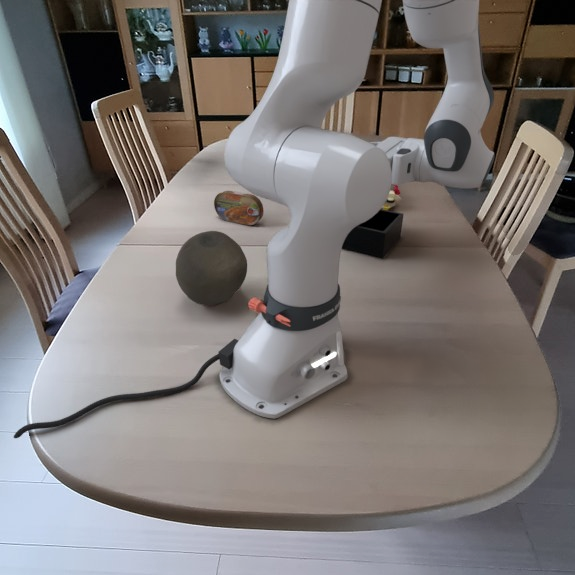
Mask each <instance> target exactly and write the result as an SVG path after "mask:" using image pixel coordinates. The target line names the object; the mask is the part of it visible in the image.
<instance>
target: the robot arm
mask: <svg viewBox="0 0 575 575" xmlns="http://www.w3.org/2000/svg"><path fill="white" fill-rule="evenodd" d="M382 2H383V0H288V5H287V11H286V17H285V23H284V27H283V33H282V37H281V42H280V47H279V53H278V57H277V61H276V64H275V67H274V70H273V72H272V76H271V78H270V81H269V83H268V86H267V87H266V89H265V91H264V92H263V93H264V94H263V95H262V97H261V99H260V100H259V102H258V104H257V105H256V107H255V109H254V110H253V111H252V113H251V114H250V115H248V117H247V118H246V119H244V120H243V121H242V122H240V123H239V124H238V125H237V126H235V127H234V129H232V131H231V132H230V134H229V136H228V138H227V140H226V143H225V148H224V157H223V158H224V165H225V169H226V171H227V174H228V176H229V177H230V178H231V180H233V182H235V183H237V185H239V186H240V187H242V188H243V189H245V190H246V191H248V192H249V193H250V194H252V195H254V196H256V197H258V198H262V199H265V200H268V201H271V202H274V203H277V204H279V205H283V206H285V207H287V209H288V210H289V213H290V223H289V225H288V226H285V227H283V228H281V229H280V230H278V231H277V232H276V233H275V234H274V235H273V236H272V237H271V239H270V240H269V242H268V243H267V246H266V251H265V252H266V253H265V254H266V268H267V269H266V270H267V285H266V288H265V291H264V295H263V299H262V300H261V299H259V298H258V297H256V296H254V297H252V298H251V299H249V301H248V308H249V309H250V310H252V311H254V312H255V313H257V316H256V317H255V319H254V320H253V321H252V322H251V323H250V325H249V327H248V328H247V329H246V331H245V332H244V333H243V334H242V336H241V337H240V338H239V339H237V338H233V339H232V340H231V341H230V342H229V343H227V344H226V345H225V346H223V347H222V348H221V349H220V350H218V352H217V354H215V355H214V356H212V357H210V358H209V359H208V360H206V361H205V362H204V363H203V364H202V366H200V368H199V370H198V371H197V373H196V375H195V376H194V377H193V378H192V379H191V380H189V381H188V382H186V383H184V384H181V385H179V386H176V387H170V388H165V389H163V388H162V389H156V390H151V391H145V392H136V393H124V394H116V395H111V396H107V397H104V398H102V399H99V400H96V401H94V402H92V403H90V404H89V405H87V406H85V407H83V408H81V409H79V410H78V411H76V412H75V413H72V414H70V415H68V416H66V417H63V418H62V419H57V420H53V421H44V422H32V423H28V424H26V425H24V426H22V427H21V428H19V429H18V430H17V431H16V432H15V433H14V434H13V439H19V438H20V437H22V436H23V435H24V434H25V433H27V432H29V431H33V430H41V429H42V430H43V429H53V428H57V427H61V426H64V425H66V424H67V425H68V424H69V423H71V422H74V421H75V420H77V419H79V418H81V417H82V416H84V415H87V413H89V412H91V411H93V410H94V409H96V408H99V407H101V406H104V405H106V404H109V403H114V402H118V401H128V400H139V399H147V398H152V397H159V396H160V397H161V396H164V395H165V396H166V395H172V394H177V393H180V392H183V391H185V390H188V389H190V388H191V387H193V386H194V385H196V384H197V383H198V382H199V381H200V380H201V378H202V377H203V375H204V373H205V372H206V370H207V369H208V368H209V367H210V366H211V365H213V364H214V363H216V362H217V361H219V365H220V366H222V368H221V369H220V370H219V374H218V375H219V382H220V385H221V387H222V388H223V390H224V391H225V393H226V394H227V395H228V396H229V397H230V398H231V399H232V400H233V401H234V402H235V403H237V404H238V405H239V406H241V407H242V408H244V409H245V410H247V411H248V412H250V413H252V414H254V415H257V416H259V417H263V418H267V419H272V420H273V419H274V420H275V419H278V418H281V417H282V416H284V415H286V414H288V413H289V412H291V411H293V410H295V409H297V408H299V407H301V406H302V405H304V404H306V403H308V402H309V401H311V400H313V399H315V398H317V397H318V396H320V395H322V394H324V393H326V392H327V391H329V390H331V389H333V388H335V387H336V386H338V385H341V383H344V382H345V381H347V379H348V377H349V376H348V369H347V367H346V366H347V365H346V364H345V350H344V346H343V335H342V329H341V324H340V320H339V311H340V307H341V301H342V300H341V299H342V297H341V286H340V284H339V272H340V262H341V254H342V250H343V249H342V246H343V243H344V241H345V238H346V237H347V235H348V234H349V232H350V231H351V230H352V229H353V228H355V227H356V226H358V225H359V224H361V223H364V222H366V221H367V220H369V219H370V218H372V217H373V216H374V215H375V214H376V213H377V212H378V211H379V210H380V209H383V208H382V206H383V205H384V203H385V202H386V200H387V197H388V195H389V192H390V191H391V188H392V185H393V186H394V185H397V186H402V185H404V184H407V183H414V182H416V183H417V182H418V183H434V184H436V185H439V186H441V187H447V188H455V189H478V188H480V187H481V186H483V185H484V183H485V182H486V181H487V178H488V176H489V173H490V171H491V168H492V166H493V164H494V161H495V152H494V151H493V150H490V149H489V148H488V146H487V144H486V143H485V141H484V139H483V137H482V132H481V129H482V127H483V125H484V123H485V121H486V118H487V117H488V115H489V113H490V112H491V110H492V108H493V106H494V103H495V91H494V89H493V86H492V84H491V82H490V81H489V79H488V76H487V74H486V71H485V69H484V62H483V52H482V42H481V32H480V31H481V30H480V23H479V13H480V12H479V11H480V0H402V7H403V13H404V19H405V22H406V26H407V29H408V32H409V34H410V36H411V39H412V40H413V41H414V42H415V43H416V44H418V45H420V46H421V47H424V48H427V49H432V50H437V49H439V50H440V49H443V55H444V62H445V68H446V73H447V82H446V85H445V88H444V90H443V92H442V95H441V97H440V99H439V102H438V103H437V106H436V108H435V110H434V112H433V113H432V115H431V117H430V119H429V121H428V123H427V125H426V127H425V130H424V134H423V138H415V137H408V138H405V137H402V136H401V137H400V136H388V137H387V138H385V139H383V140H382V141H371V142H369V141H367V140H364V139H362V138H360V137H358V136H357V135H353V134H351V133H347V132H346V133H345V132H341V131H337V130H336V131H335V130H331V129H325V128H321V127H322V124H323V122H324V120H325V118H326V116H327V114H328V113H329V111H330V110H331V108H332V107H333V106H334V105H335V104H336V103H337V102H338V101H339V100H342V99H344V98H345V97H348V96H350V95H351V94H353V93H354V92H355V91H356V90H358V88H359V87H360V86H361V84H362V82H363V81H364V79H365V77H366V73H367V69H368V65H369V61H370V56H371V51H372V47H373V43H374V38H375V35H376V30H377V25H378V20H379V16H380V11H381V8H382Z"/></svg>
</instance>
